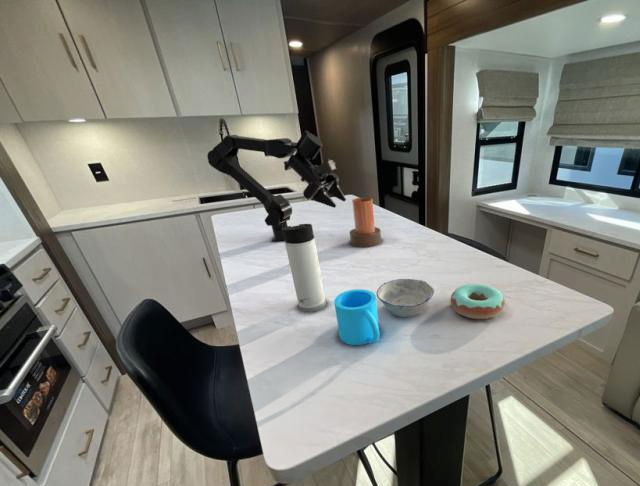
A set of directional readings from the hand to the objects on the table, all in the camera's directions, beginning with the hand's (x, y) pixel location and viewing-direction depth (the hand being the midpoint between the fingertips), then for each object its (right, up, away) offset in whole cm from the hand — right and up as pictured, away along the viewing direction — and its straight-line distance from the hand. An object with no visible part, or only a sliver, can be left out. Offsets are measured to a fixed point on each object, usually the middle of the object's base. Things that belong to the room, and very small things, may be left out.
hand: (340, 203), depth 111 cm
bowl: (+22, -36, -37) cm, 56 cm away
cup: (+8, -9, +3) cm, 13 cm away
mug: (+13, -41, -46) cm, 63 cm away
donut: (+38, -36, -38) cm, 65 cm away
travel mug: (0, -35, -34) cm, 49 cm away
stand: (+8, -12, +5) cm, 16 cm away
